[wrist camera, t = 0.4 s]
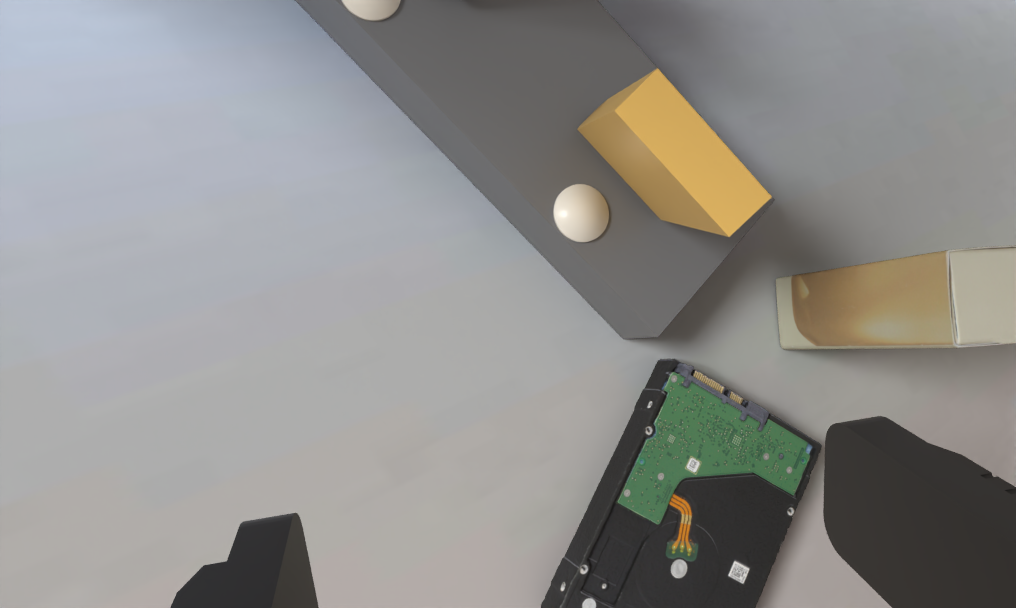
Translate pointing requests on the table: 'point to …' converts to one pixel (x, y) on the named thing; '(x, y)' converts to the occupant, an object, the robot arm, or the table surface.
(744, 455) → the disk drive
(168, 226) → the table surface
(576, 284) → the dark grey flat block
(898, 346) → the skincare box
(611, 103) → the amber switch
